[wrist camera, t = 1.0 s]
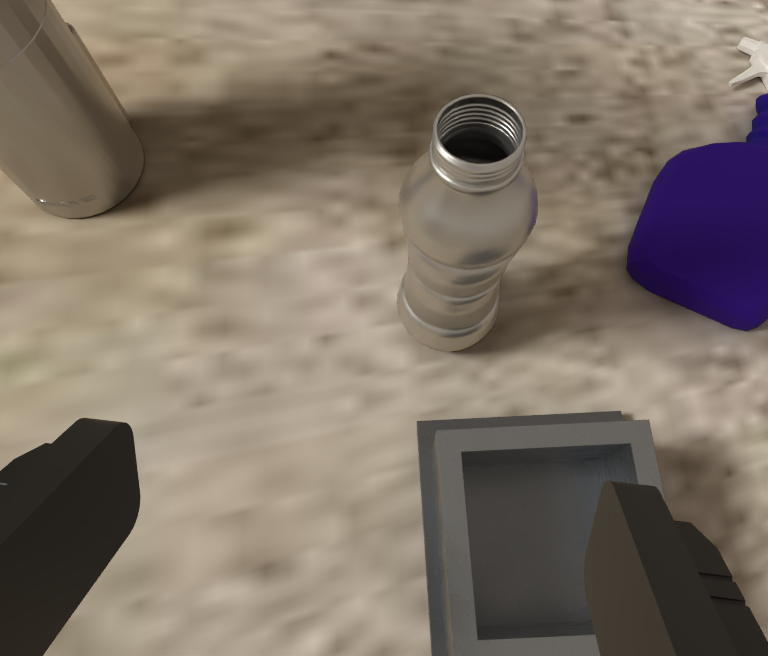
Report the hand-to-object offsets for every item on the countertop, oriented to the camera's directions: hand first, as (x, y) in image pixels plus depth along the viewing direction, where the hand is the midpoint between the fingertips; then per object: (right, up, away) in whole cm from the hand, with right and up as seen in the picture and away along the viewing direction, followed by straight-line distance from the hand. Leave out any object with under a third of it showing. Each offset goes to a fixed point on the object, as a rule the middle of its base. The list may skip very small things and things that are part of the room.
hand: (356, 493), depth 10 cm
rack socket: (+9, -10, +27) cm, 30 cm away
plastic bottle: (+5, +4, +33) cm, 33 cm away
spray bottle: (+27, +14, +36) cm, 48 cm away
